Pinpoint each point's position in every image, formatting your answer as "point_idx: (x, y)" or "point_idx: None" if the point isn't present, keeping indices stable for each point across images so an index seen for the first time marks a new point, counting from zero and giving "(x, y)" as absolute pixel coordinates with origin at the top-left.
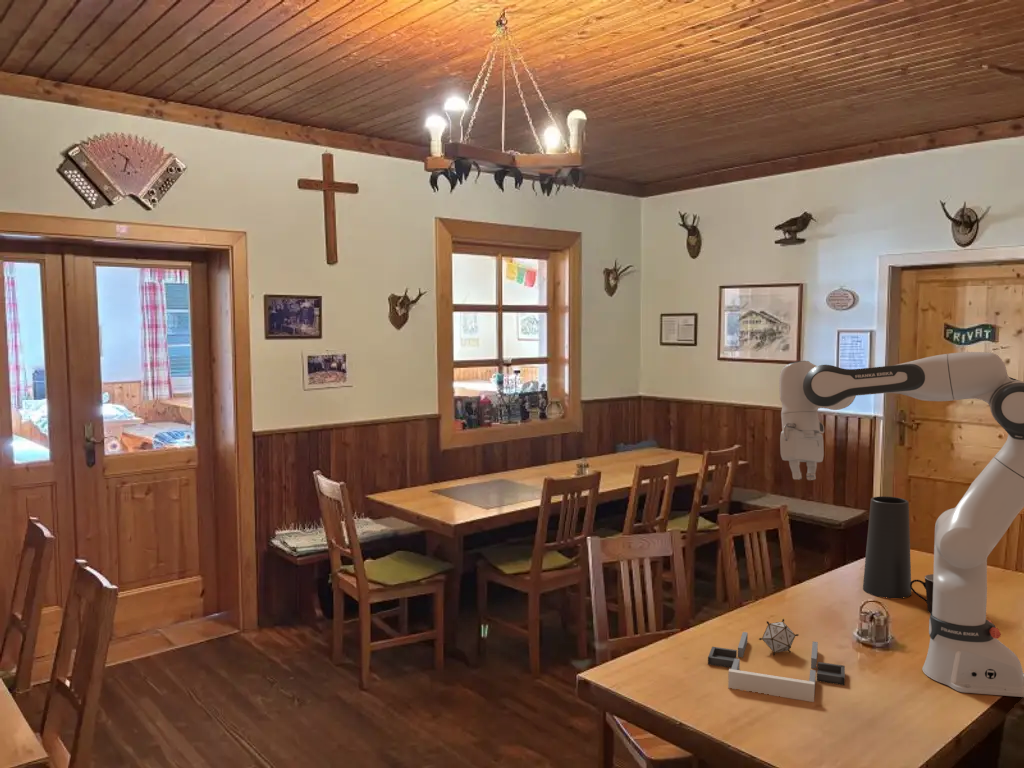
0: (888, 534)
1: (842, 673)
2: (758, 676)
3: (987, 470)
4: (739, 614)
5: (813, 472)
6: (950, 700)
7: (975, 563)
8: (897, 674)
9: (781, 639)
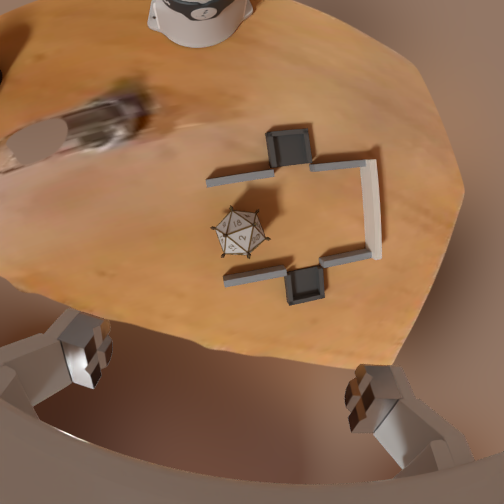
0: None
1: (295, 132)
2: (380, 224)
3: None
4: (125, 314)
5: (58, 348)
6: (281, 22)
7: None
8: (232, 72)
9: (259, 225)
